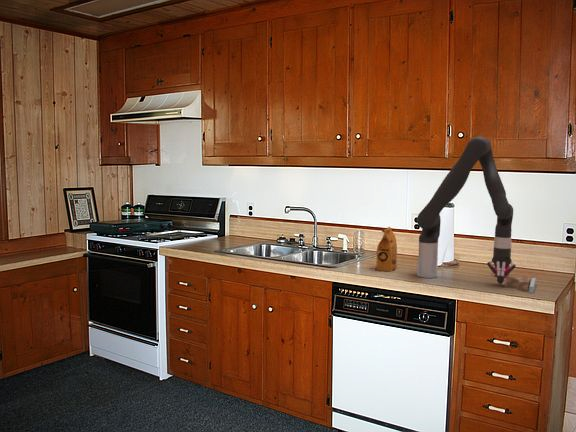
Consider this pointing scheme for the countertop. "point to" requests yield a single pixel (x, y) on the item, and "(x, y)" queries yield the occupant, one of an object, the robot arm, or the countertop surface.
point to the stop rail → (532, 285)
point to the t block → (518, 282)
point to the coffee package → (387, 252)
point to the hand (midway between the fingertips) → (500, 283)
